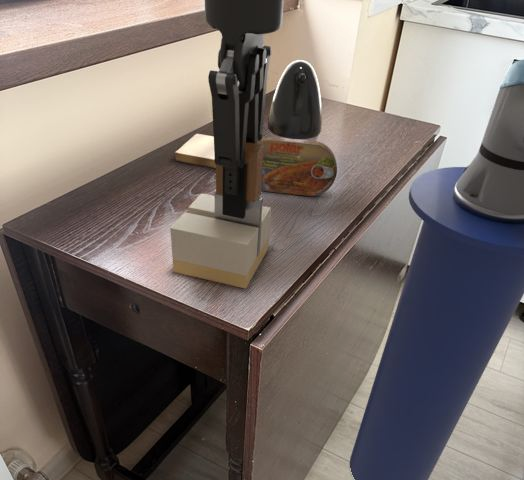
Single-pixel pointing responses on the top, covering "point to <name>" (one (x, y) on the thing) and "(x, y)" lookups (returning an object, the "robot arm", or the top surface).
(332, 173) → the tin
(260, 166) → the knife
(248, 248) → the slotted card holder
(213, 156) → the board
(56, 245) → the top surface
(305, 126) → the black white dome
